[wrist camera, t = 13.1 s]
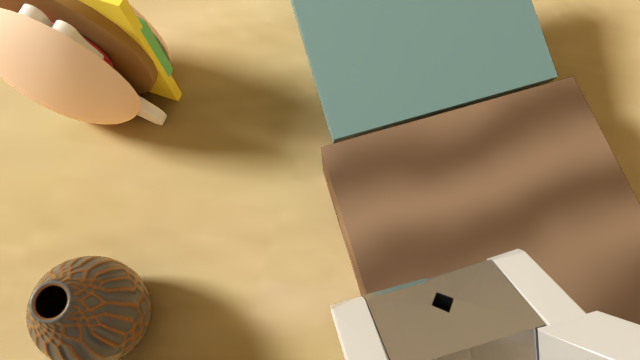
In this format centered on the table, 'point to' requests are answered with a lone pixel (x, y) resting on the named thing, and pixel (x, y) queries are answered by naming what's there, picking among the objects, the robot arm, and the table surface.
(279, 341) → the table surface
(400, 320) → the robot arm
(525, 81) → the grey-green flat slab
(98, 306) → the vase
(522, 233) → the wooden l-shaped block
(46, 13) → the hamburger
